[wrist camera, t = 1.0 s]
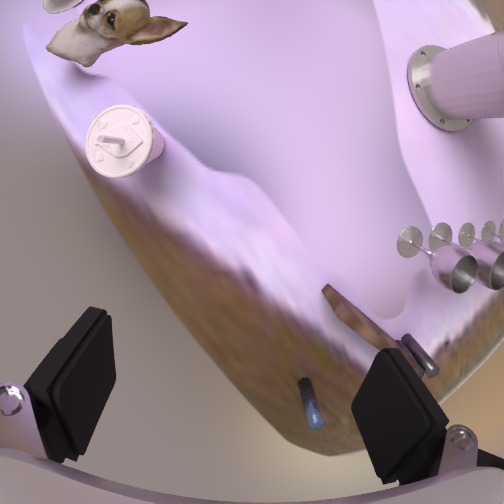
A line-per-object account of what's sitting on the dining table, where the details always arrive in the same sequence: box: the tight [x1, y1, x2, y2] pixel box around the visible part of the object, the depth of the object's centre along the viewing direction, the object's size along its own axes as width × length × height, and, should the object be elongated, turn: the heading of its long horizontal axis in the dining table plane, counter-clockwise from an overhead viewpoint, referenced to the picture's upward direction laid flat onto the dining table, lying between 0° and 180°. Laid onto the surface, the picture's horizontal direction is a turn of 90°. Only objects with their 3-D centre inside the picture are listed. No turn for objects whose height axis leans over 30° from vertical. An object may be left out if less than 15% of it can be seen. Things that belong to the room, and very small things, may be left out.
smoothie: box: [85, 105, 164, 178], centre depth 24 cm, size 6×6×14 cm
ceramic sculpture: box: [46, 0, 188, 67], centre depth 22 cm, size 11×9×15 cm
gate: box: [322, 284, 424, 379], centre depth 35 cm, size 18×2×8 cm, turn 51°
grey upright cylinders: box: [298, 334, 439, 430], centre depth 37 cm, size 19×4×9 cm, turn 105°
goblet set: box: [397, 220, 504, 294], centre depth 30 cm, size 28×6×13 cm, turn 96°
